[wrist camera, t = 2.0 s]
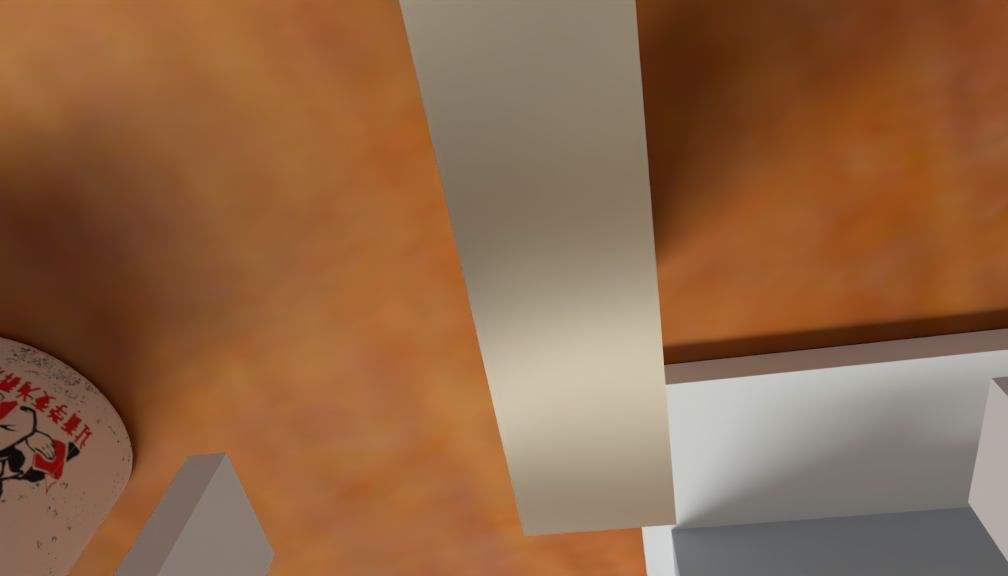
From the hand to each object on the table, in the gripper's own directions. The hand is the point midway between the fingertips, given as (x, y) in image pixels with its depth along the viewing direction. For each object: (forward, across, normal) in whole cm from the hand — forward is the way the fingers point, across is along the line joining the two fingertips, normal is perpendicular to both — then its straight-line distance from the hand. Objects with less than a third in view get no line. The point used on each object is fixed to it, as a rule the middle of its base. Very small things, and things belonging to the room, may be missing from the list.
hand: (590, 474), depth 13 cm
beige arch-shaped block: (+9, 0, +5) cm, 11 cm away
